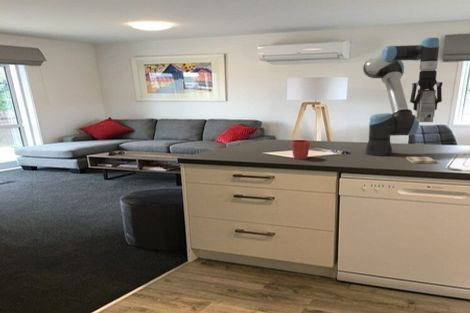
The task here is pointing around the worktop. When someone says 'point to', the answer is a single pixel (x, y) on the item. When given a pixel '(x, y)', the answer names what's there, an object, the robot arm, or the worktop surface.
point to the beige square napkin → (421, 160)
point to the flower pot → (300, 148)
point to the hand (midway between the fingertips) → (424, 116)
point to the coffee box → (426, 105)
